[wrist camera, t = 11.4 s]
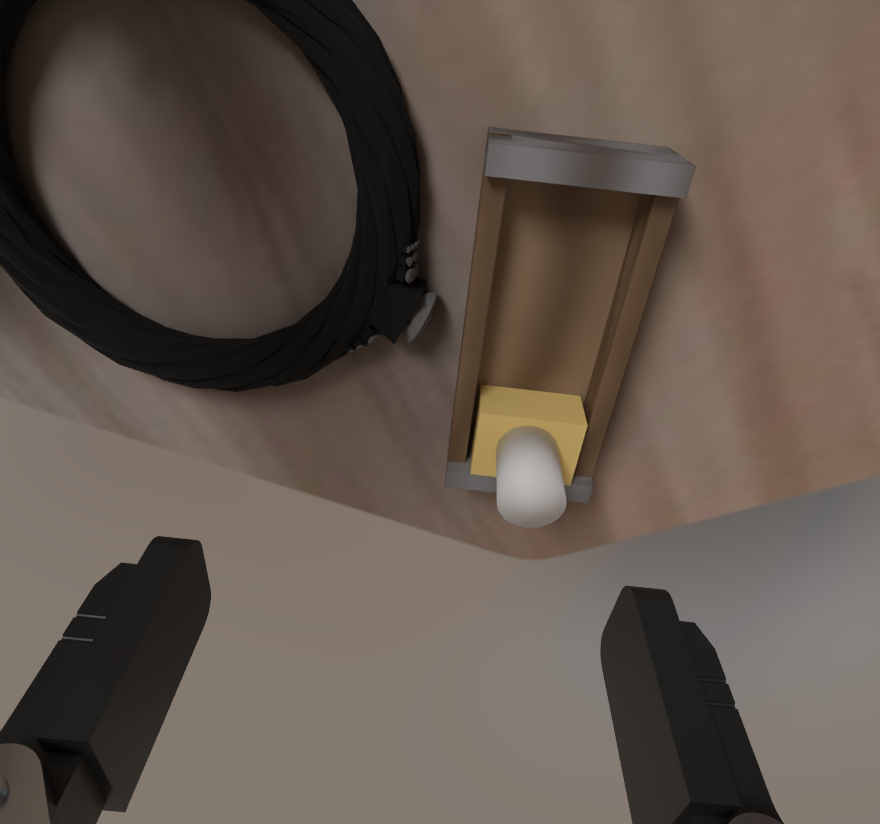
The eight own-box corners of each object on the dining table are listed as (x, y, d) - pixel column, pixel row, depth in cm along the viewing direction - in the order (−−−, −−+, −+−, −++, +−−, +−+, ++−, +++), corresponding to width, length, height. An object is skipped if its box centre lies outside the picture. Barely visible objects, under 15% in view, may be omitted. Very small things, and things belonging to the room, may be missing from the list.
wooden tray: (448, 443, 44) (444, 487, 40) (488, 127, 32) (488, 142, 28) (579, 458, 44) (588, 503, 40) (669, 147, 32) (696, 166, 28)
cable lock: (-93, -337, 22) (561, 117, 29) (-19, -291, 25) (553, 107, 32) (-109, 271, 36) (332, 478, 43) (-60, 251, 39) (343, 447, 46)
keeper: (471, 442, 42) (468, 527, 35) (480, 384, 40) (478, 463, 32) (564, 453, 42) (580, 540, 35) (580, 395, 39) (600, 477, 32)
